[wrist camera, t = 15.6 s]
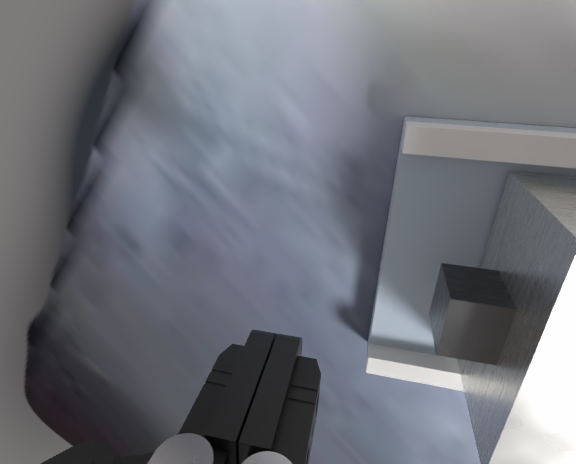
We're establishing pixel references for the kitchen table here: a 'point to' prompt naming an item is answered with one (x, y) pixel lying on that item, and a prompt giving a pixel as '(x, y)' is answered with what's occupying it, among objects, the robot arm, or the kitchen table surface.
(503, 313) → the block
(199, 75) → the kitchen table surface
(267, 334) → the robot arm
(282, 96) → the kitchen table surface
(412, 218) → the vise body
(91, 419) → the kitchen table surface
